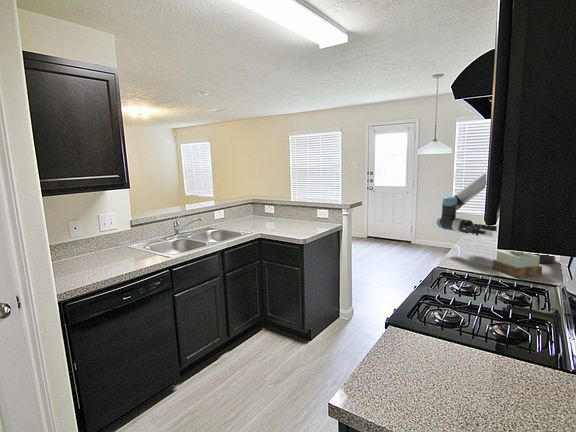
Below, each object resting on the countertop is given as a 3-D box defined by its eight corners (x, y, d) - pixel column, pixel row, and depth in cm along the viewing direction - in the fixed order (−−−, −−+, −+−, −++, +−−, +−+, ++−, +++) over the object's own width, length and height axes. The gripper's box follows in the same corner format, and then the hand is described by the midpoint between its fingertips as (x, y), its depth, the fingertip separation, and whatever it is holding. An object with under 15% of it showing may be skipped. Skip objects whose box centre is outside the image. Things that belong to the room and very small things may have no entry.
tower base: (516, 268, 167) (517, 258, 167) (541, 277, 154) (542, 266, 153) (492, 269, 165) (493, 260, 165) (515, 278, 152) (516, 268, 151)
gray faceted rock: (511, 256, 155) (527, 242, 150) (498, 244, 161) (514, 230, 157) (520, 260, 158) (536, 246, 154) (507, 248, 165) (523, 235, 160)
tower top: (516, 259, 166) (517, 249, 165) (538, 266, 154) (539, 256, 153) (496, 260, 163) (497, 251, 162) (517, 268, 152) (518, 257, 151)
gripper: (477, 230, 190) (515, 237, 171) (447, 234, 179) (484, 242, 160) (478, 217, 189) (516, 223, 170) (448, 221, 178) (485, 227, 159)
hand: (500, 232), depth 165 cm, fingers open, 13 cm apart
